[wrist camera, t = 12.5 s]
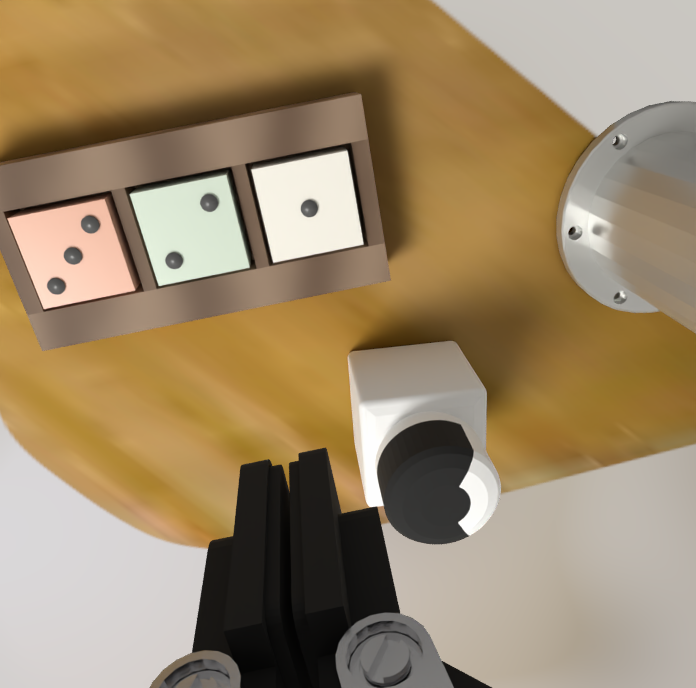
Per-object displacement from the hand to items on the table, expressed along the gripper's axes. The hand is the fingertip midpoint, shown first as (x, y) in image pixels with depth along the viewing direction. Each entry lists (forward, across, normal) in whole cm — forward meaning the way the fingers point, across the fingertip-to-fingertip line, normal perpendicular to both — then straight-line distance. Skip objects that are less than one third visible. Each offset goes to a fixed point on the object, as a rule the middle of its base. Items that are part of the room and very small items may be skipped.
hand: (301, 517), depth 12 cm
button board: (+27, +5, -1) cm, 28 cm away
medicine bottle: (+27, -5, +13) cm, 31 cm away
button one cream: (+26, -1, -1) cm, 26 cm away
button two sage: (+26, +5, -1) cm, 26 cm away
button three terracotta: (+26, +11, -1) cm, 28 cm away
